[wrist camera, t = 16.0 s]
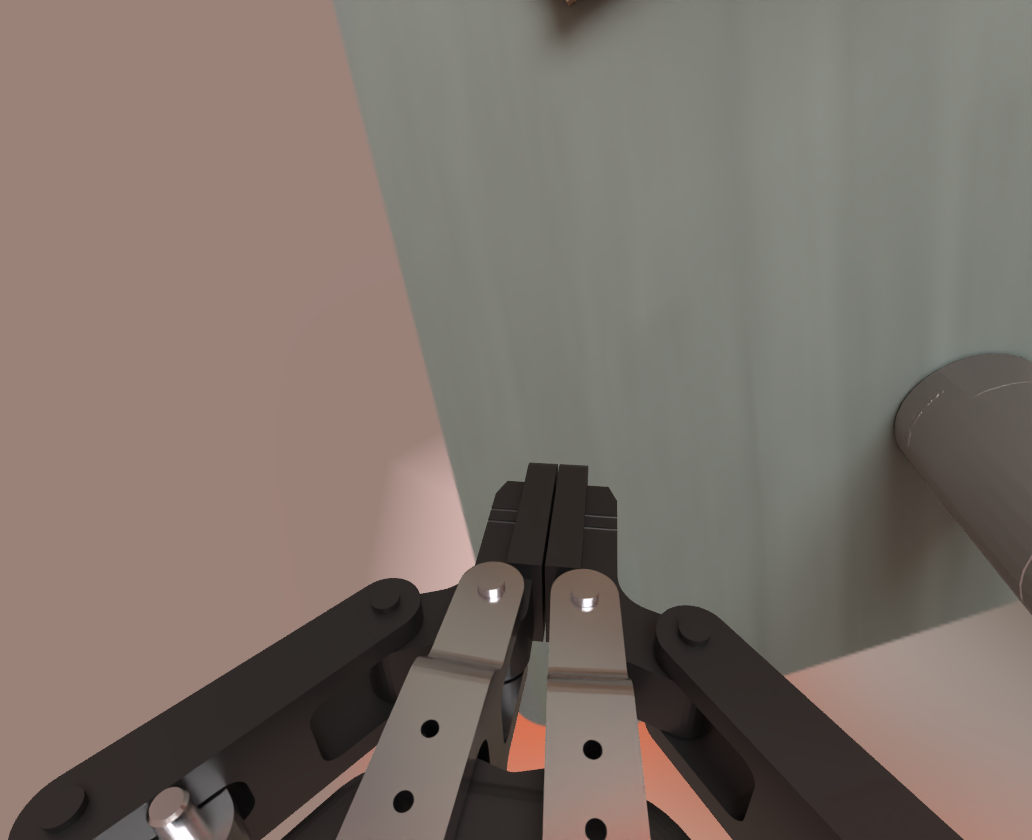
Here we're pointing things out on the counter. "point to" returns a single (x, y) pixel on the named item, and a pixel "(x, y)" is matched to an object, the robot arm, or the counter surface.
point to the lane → (570, 2)
